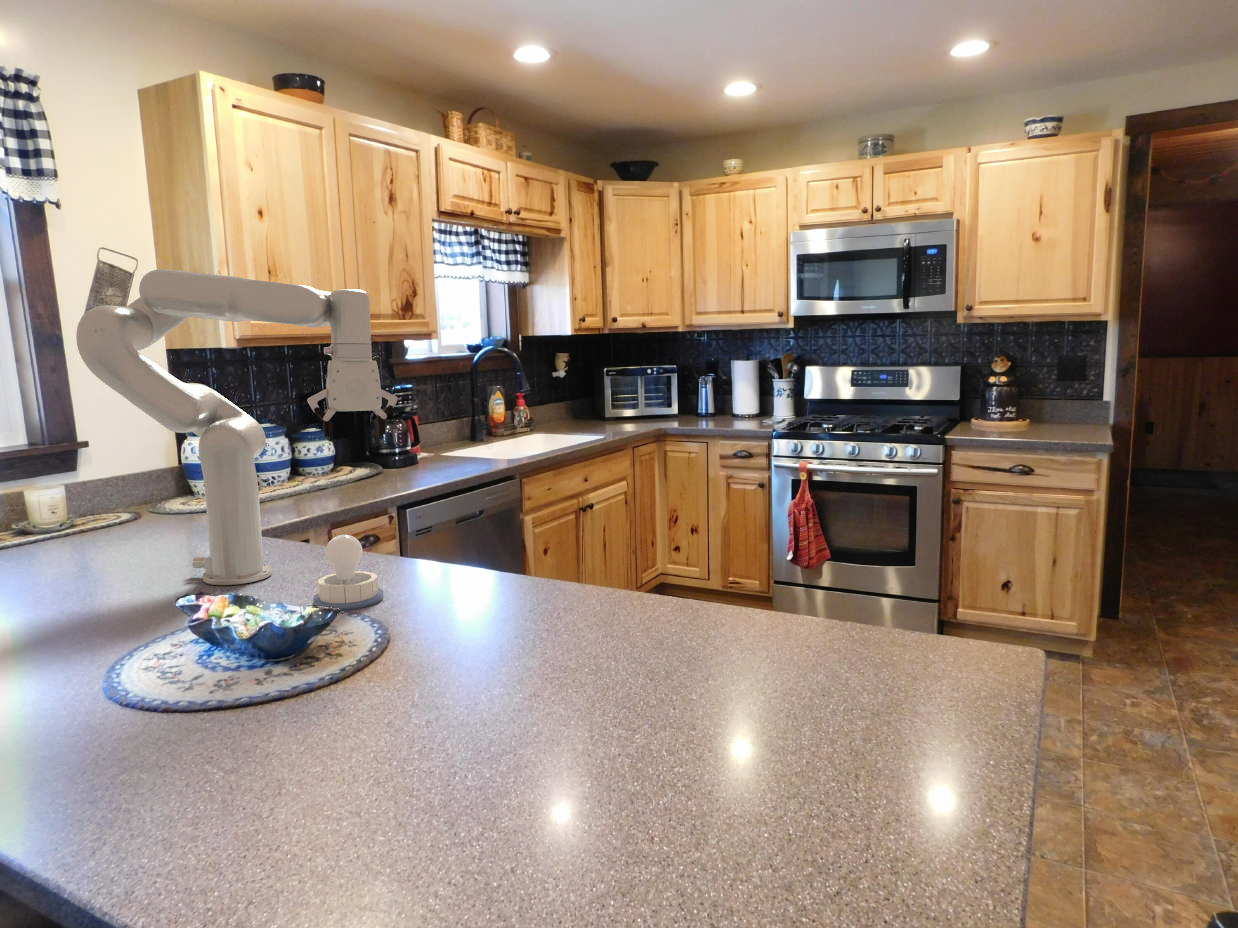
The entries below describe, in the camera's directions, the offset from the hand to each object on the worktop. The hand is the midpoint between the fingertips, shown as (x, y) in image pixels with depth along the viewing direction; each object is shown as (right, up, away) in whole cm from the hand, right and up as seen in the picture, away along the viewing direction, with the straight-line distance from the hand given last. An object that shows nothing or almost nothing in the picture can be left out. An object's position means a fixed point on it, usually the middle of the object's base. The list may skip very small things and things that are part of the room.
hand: (355, 439), depth 163 cm
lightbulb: (+4, -29, -16) cm, 33 cm away
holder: (+4, -30, -16) cm, 34 cm away
